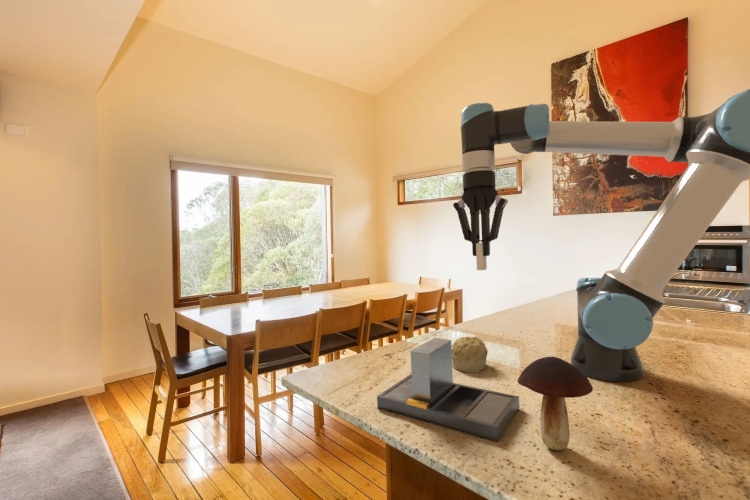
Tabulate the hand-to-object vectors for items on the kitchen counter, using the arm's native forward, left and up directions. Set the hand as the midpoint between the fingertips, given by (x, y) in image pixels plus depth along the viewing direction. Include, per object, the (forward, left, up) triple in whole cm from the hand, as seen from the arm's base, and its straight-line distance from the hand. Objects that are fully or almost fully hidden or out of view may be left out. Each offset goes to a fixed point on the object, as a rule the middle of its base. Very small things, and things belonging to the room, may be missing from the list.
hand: (481, 269), depth 91 cm
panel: (+4, +20, -26) cm, 33 cm away
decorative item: (+6, -5, -27) cm, 28 cm away
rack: (+1, +20, -26) cm, 33 cm away
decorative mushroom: (-20, +24, -27) cm, 41 cm away
